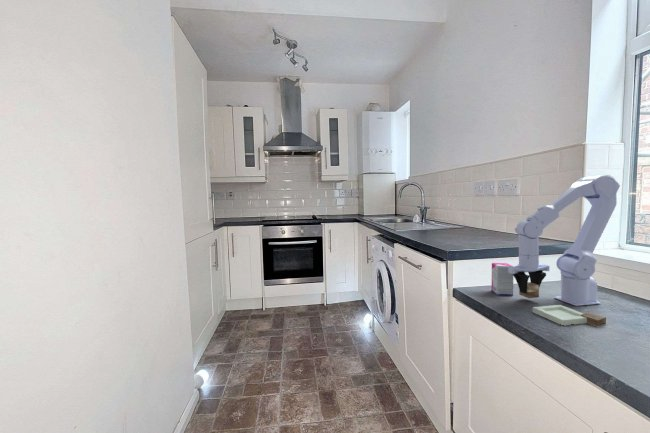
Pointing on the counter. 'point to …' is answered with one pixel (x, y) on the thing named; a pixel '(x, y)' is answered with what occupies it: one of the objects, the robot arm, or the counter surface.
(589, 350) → the counter surface
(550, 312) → the base plate
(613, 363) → the counter surface
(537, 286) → the tan cube
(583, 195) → the robot arm
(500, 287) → the supplement box
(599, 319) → the walnut brick
